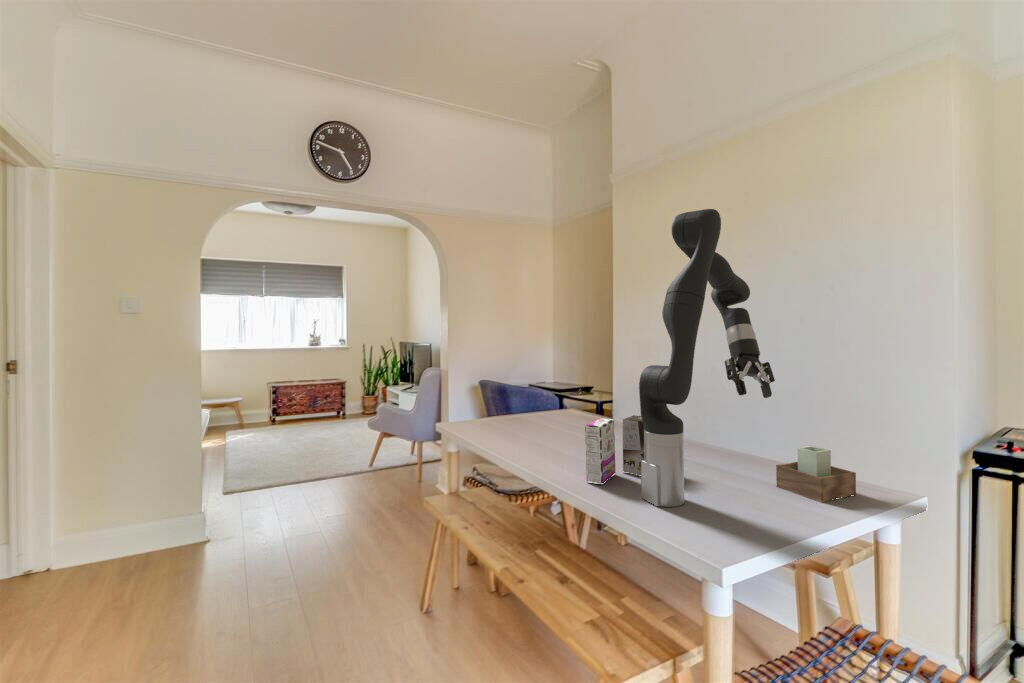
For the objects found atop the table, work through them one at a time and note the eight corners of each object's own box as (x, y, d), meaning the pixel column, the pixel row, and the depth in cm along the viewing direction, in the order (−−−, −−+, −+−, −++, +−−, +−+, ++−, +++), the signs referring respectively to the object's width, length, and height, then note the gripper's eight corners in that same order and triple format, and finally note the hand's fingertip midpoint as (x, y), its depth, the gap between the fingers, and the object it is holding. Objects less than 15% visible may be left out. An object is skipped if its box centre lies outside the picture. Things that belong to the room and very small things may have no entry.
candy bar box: (599, 472, 131) (598, 417, 131) (616, 474, 129) (615, 419, 128) (585, 483, 122) (584, 424, 122) (602, 486, 119) (601, 426, 119)
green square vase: (816, 492, 110) (816, 452, 109) (798, 486, 114) (797, 447, 114) (830, 489, 111) (830, 450, 111) (811, 483, 116) (811, 445, 116)
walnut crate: (821, 502, 105) (821, 478, 105) (776, 486, 116) (776, 464, 116) (855, 495, 109) (855, 472, 109) (809, 481, 120) (808, 459, 120)
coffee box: (643, 477, 126) (642, 421, 126) (622, 473, 130) (621, 419, 130) (654, 469, 133) (653, 416, 133) (634, 465, 137) (633, 414, 137)
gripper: (731, 334, 123) (744, 390, 116) (772, 340, 127) (787, 394, 120) (713, 345, 129) (724, 398, 123) (752, 350, 133) (765, 401, 127)
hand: (755, 396), depth 121 cm, fingers open, 8 cm apart
